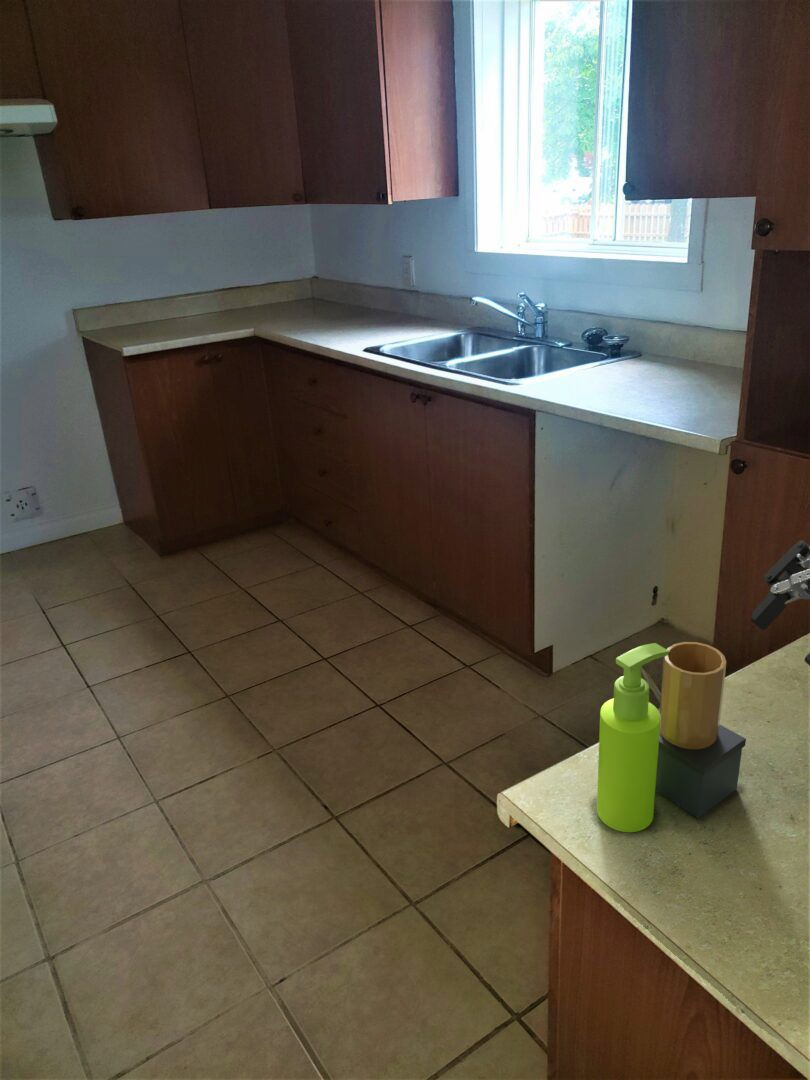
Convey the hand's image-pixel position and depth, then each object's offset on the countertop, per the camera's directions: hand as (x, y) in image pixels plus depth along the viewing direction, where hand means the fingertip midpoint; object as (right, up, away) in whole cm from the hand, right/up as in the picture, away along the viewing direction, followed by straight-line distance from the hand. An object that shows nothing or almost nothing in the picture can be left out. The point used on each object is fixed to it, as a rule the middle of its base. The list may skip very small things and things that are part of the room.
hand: (782, 645), depth 87 cm
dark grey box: (-9, -16, +4) cm, 19 cm away
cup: (-10, -10, +2) cm, 14 cm away
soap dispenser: (-16, -18, +1) cm, 24 cm away
